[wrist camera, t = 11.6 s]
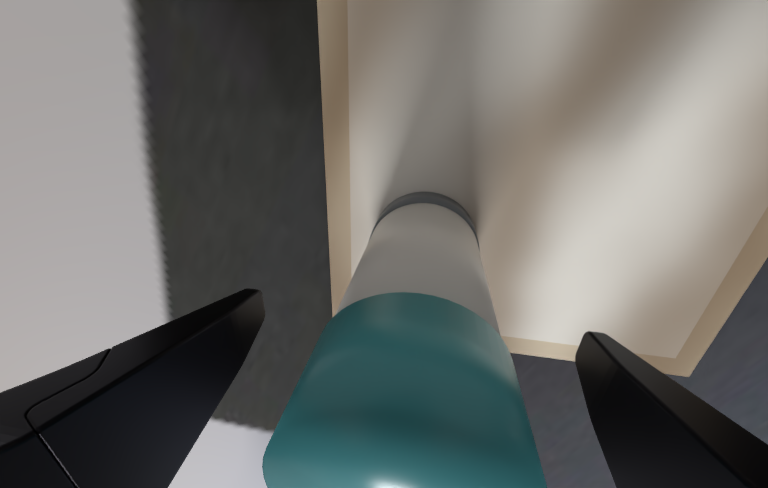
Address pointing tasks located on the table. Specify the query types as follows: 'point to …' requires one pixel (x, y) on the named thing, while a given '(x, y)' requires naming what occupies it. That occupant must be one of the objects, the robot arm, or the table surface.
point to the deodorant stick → (409, 371)
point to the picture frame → (562, 155)
